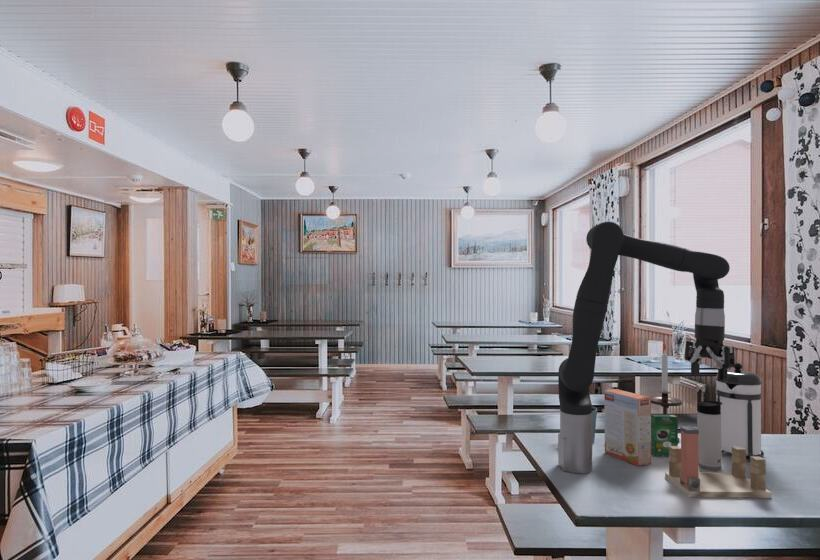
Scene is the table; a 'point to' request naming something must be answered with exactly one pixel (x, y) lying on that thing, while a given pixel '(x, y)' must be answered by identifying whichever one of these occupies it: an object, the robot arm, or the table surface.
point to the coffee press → (740, 411)
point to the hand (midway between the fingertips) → (708, 378)
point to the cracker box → (628, 426)
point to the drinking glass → (593, 422)
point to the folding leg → (689, 453)
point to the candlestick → (665, 389)
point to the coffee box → (663, 434)
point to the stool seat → (722, 477)
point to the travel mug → (709, 434)
